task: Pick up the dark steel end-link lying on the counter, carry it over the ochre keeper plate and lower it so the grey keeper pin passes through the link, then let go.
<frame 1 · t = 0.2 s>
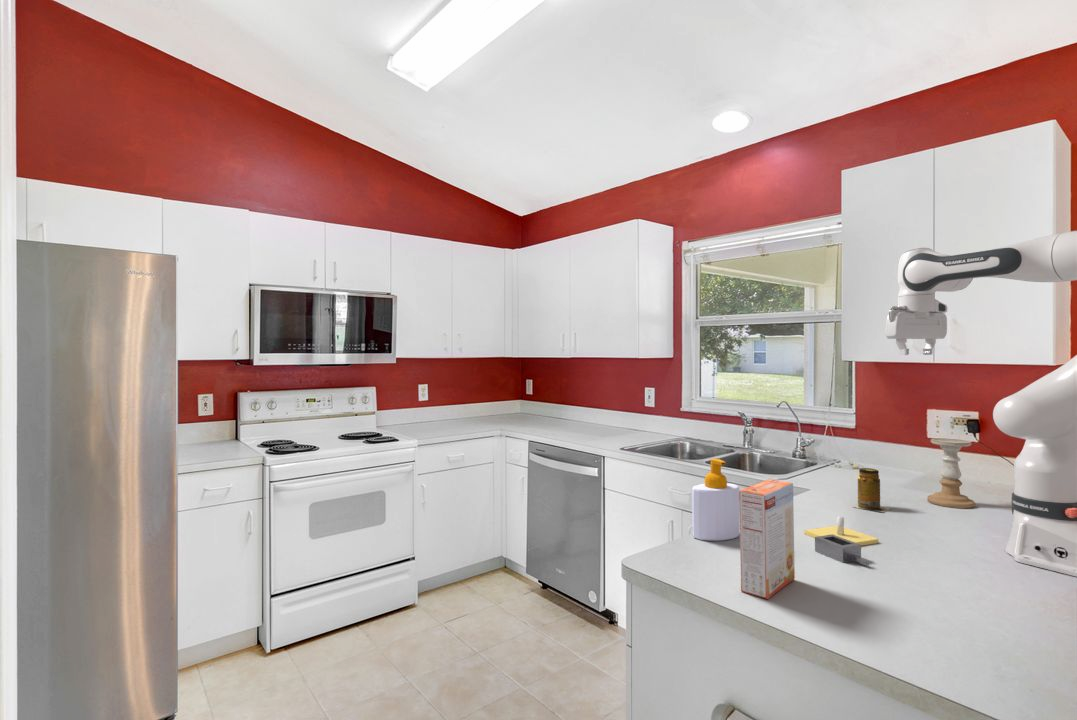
hand: (916, 354, 158), 48 cm above the worktop, fingers open, 8 cm apart
soap bottle: (715, 536, 146), on the worktop
candle holder: (950, 504, 176), on the worktop
condiment: (871, 508, 172), on the worktop
cracker box: (767, 586, 115), on the worktop
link: (837, 555, 132), on the worktop
keeper: (840, 538, 144), on the worktop
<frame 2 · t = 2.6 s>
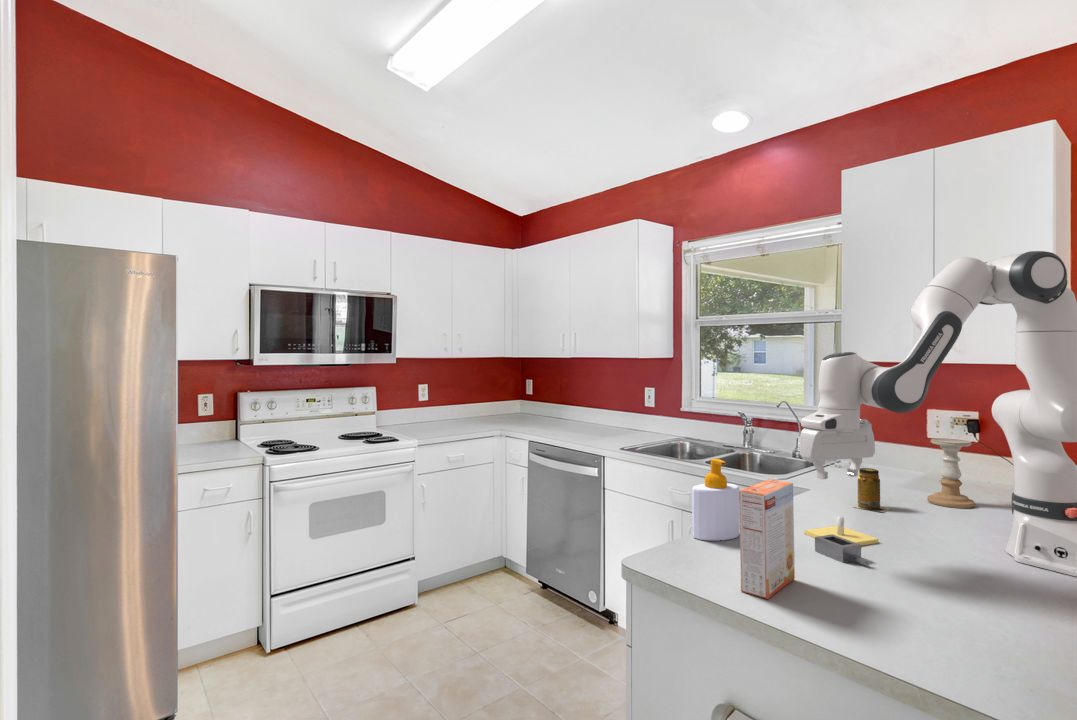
hand: (837, 477, 132), 18 cm above the worktop, fingers open, 8 cm apart
nothing on the worktop moved.
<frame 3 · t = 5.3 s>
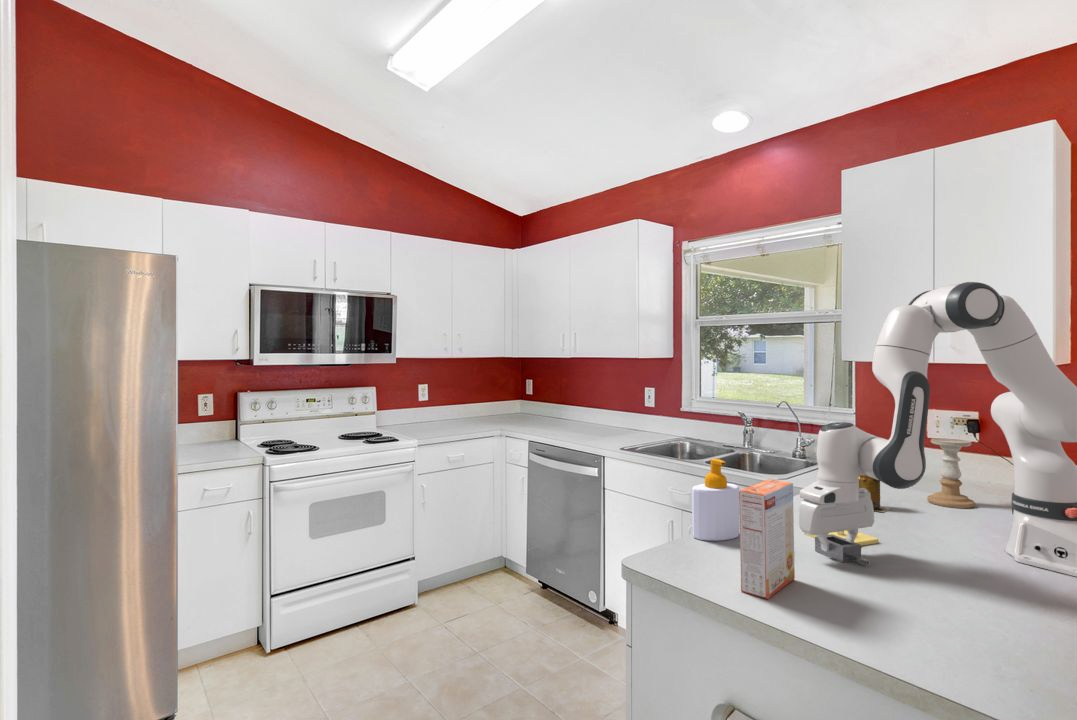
hand: (837, 548, 132), 2 cm above the worktop, fingers closed on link, 6 cm apart
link: (837, 555, 132), on the worktop, touching gripper
everything else where it was.
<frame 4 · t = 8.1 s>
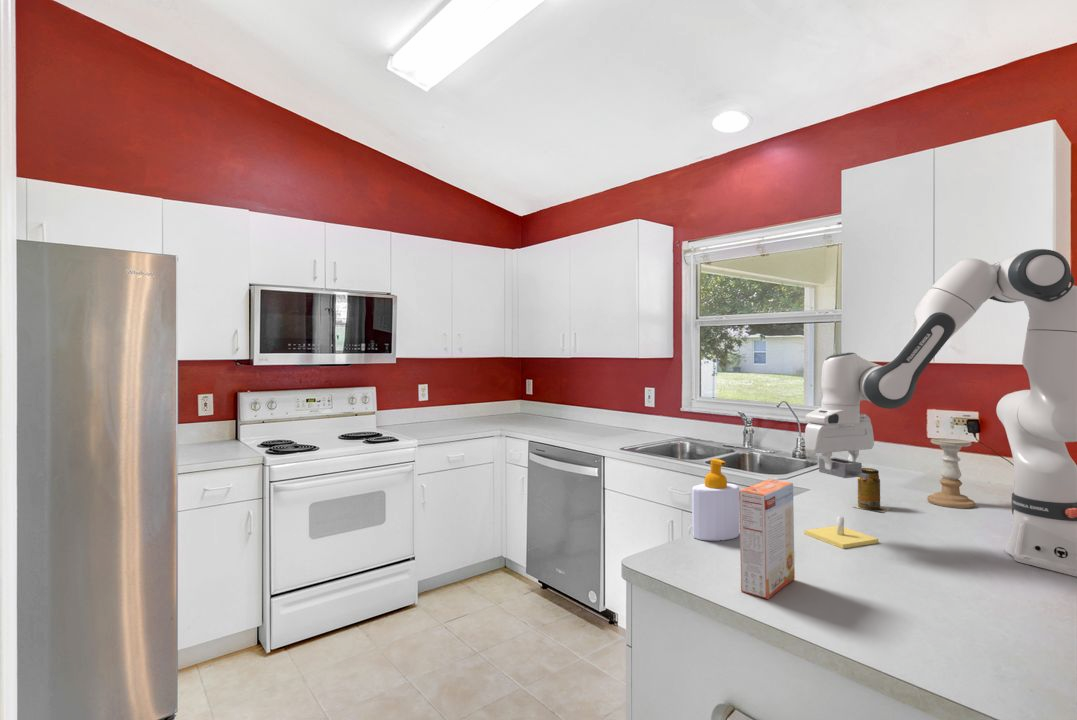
hand: (840, 468, 144), 18 cm above the worktop, fingers closed on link, 6 cm apart
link: (839, 474, 144), point 17 cm above the worktop, touching gripper
everything else where it was.
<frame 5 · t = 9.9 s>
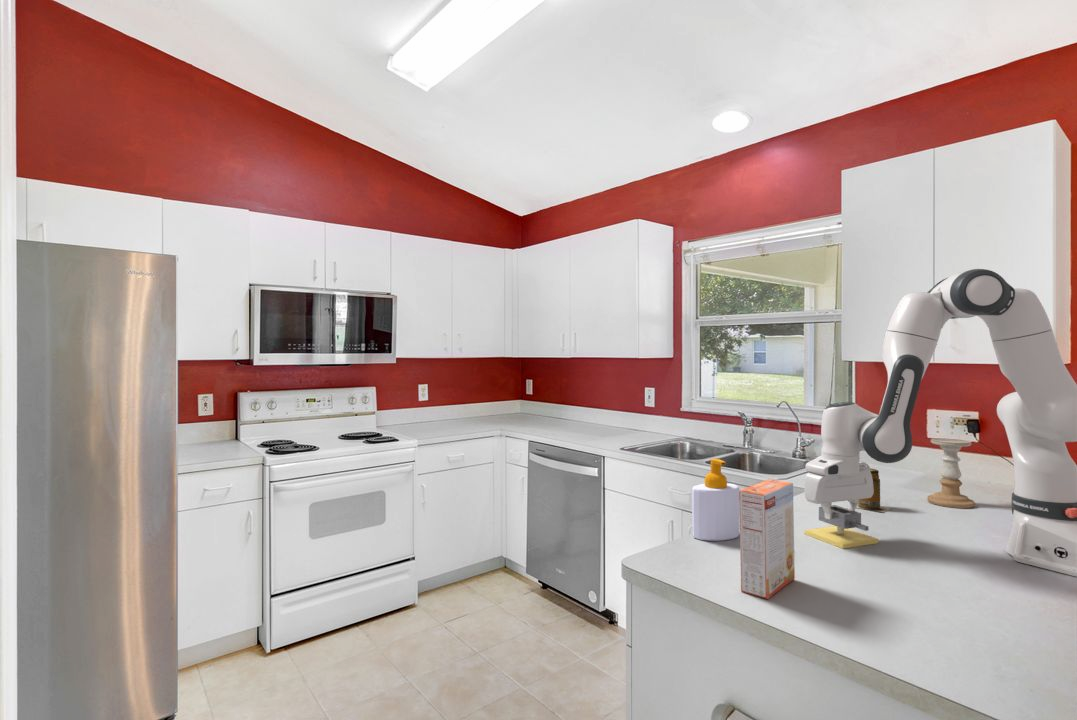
hand: (839, 517, 144), 5 cm above the worktop, fingers closed on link, 6 cm apart
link: (839, 523, 144), point 4 cm above the worktop, touching gripper
everything else where it was.
when the fingers open (4 cm above the worktop, at t = 11.0 s): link drops 1 cm, resting on keeper.
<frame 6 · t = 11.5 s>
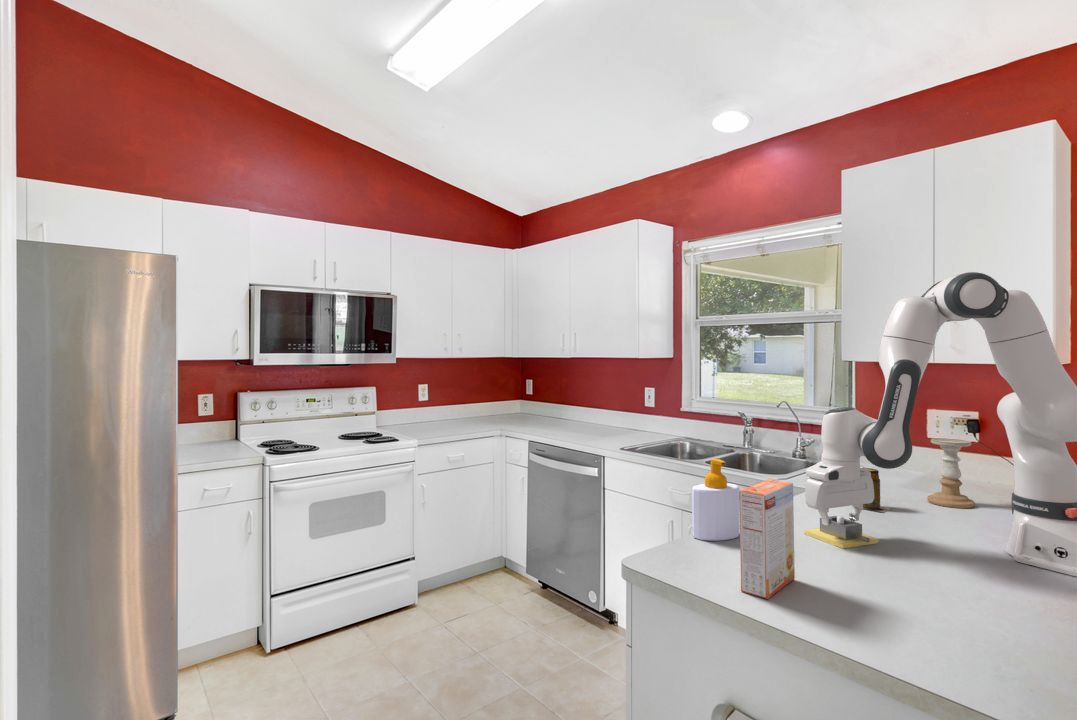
hand: (840, 522, 144), 4 cm above the worktop, fingers open, 8 cm apart
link: (840, 534, 144), point 1 cm above the worktop, touching keeper
everything else where it was.
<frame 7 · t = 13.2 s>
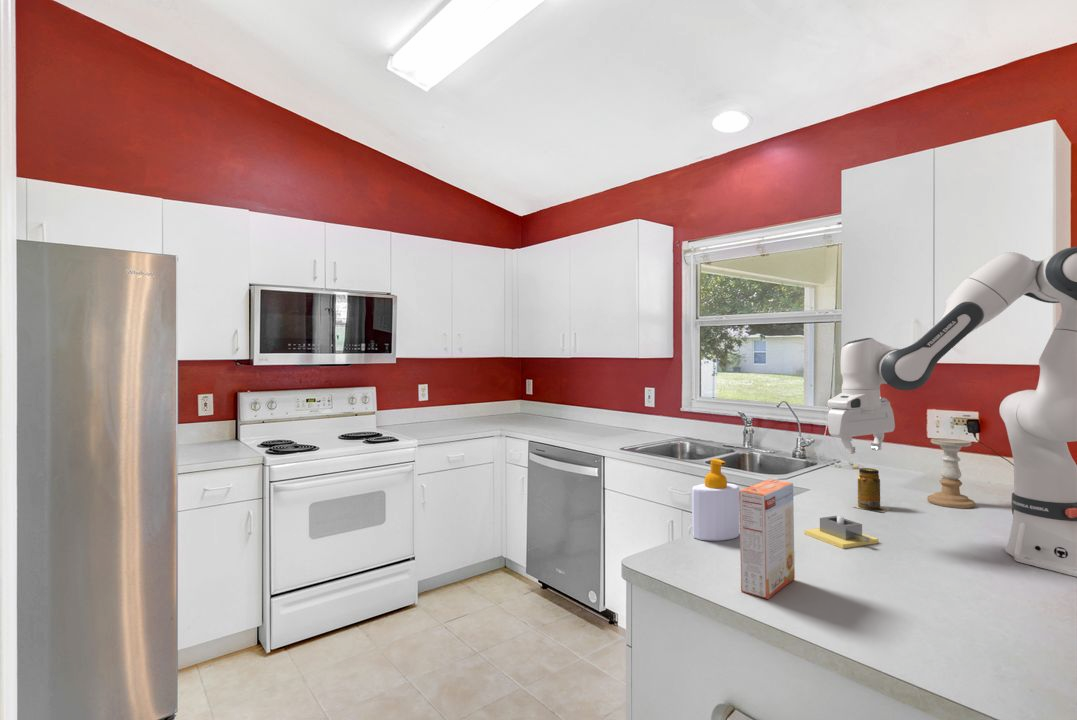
hand: (863, 451, 146), 22 cm above the worktop, fingers open, 8 cm apart
nothing on the worktop moved.
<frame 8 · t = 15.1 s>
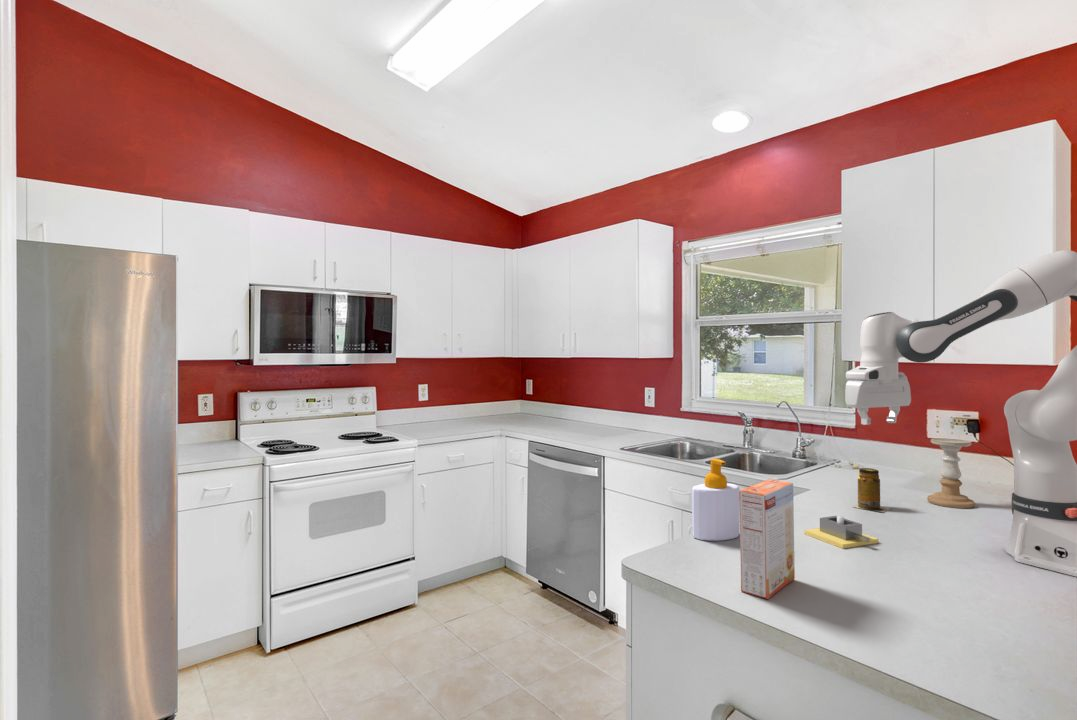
hand: (878, 423, 150), 29 cm above the worktop, fingers open, 8 cm apart
nothing on the worktop moved.
at the end: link 0.0 cm off-centre on the keeper, point 1.0 cm above the keeper's base; the gripper is holding nothing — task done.
